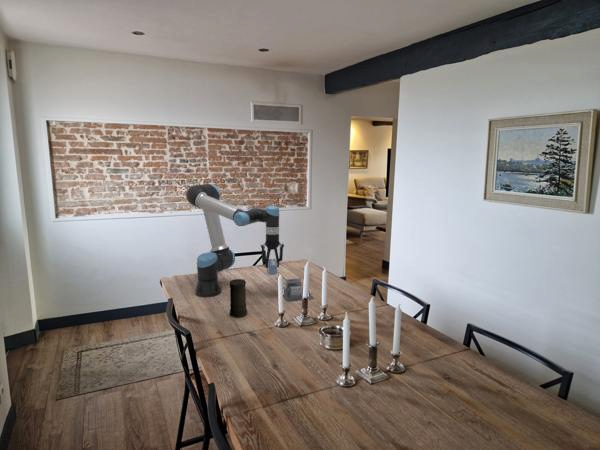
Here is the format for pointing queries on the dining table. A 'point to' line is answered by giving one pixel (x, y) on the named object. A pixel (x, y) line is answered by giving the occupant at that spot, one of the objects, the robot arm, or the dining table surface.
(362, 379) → the dining table surface
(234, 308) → the container
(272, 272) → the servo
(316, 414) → the dining table surface
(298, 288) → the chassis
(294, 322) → the dining table surface
